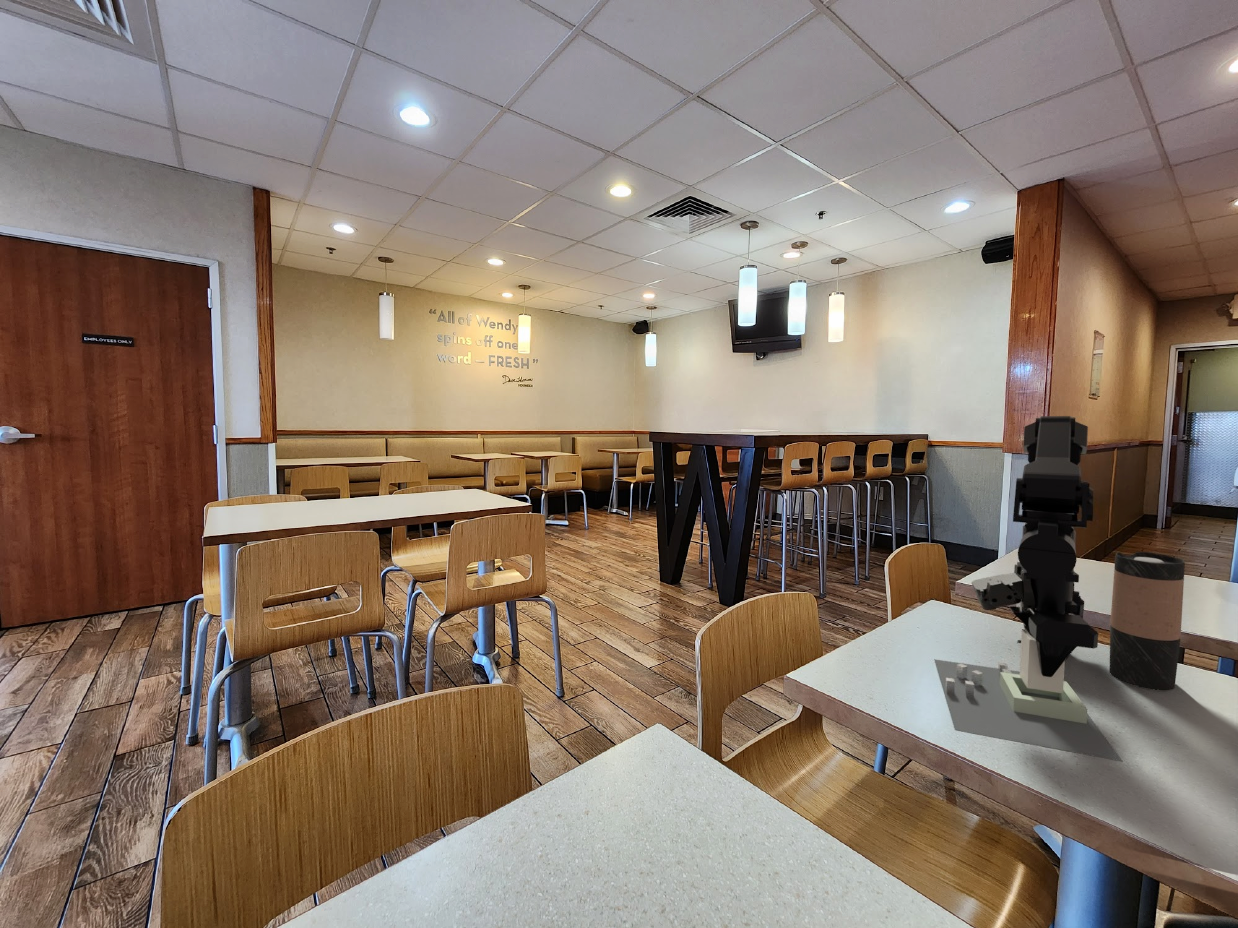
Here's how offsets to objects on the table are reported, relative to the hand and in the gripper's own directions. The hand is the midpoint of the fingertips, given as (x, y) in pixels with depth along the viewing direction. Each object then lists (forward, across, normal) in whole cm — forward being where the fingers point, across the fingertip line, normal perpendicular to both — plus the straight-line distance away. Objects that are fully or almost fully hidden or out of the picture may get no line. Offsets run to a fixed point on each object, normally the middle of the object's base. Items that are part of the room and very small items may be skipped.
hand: (1041, 669), depth 76 cm
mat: (+6, +1, -4) cm, 7 cm away
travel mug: (+6, -14, +16) cm, 22 cm away
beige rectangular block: (+2, 0, 0) cm, 2 cm away
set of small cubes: (+5, -3, -7) cm, 9 cm away
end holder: (+5, 0, 0) cm, 5 cm away
